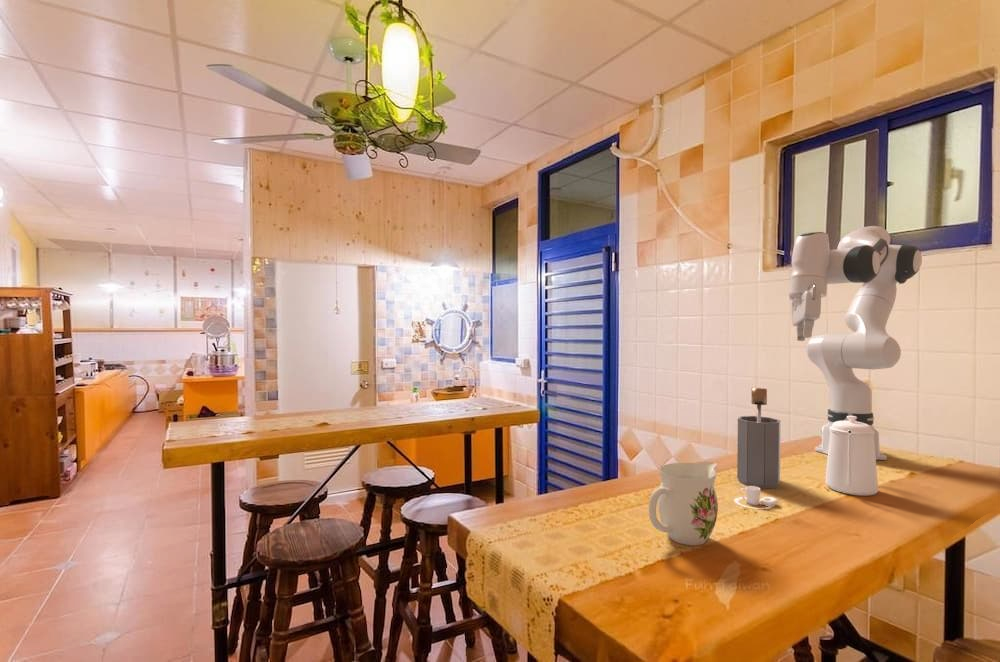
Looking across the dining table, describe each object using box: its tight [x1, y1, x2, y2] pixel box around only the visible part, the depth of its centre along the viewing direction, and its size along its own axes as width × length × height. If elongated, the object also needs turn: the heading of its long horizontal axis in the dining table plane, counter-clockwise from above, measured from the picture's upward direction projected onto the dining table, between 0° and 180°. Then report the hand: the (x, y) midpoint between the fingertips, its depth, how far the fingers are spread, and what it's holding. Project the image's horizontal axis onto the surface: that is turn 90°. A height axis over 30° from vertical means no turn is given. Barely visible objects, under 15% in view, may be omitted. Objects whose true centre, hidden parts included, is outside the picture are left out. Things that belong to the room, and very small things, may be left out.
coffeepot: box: [824, 416, 879, 497], centre depth 124 cm, size 11×25×19 cm, turn 143°
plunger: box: [750, 387, 768, 422], centre depth 130 cm, size 7×7×24 cm
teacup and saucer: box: [733, 485, 779, 511], centre depth 115 cm, size 9×8×4 cm
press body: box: [736, 415, 782, 490], centre depth 131 cm, size 13×10×17 cm
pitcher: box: [648, 461, 719, 546], centre depth 96 cm, size 11×18×14 cm, turn 119°
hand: (803, 339), depth 135 cm, fingers open, 8 cm apart
